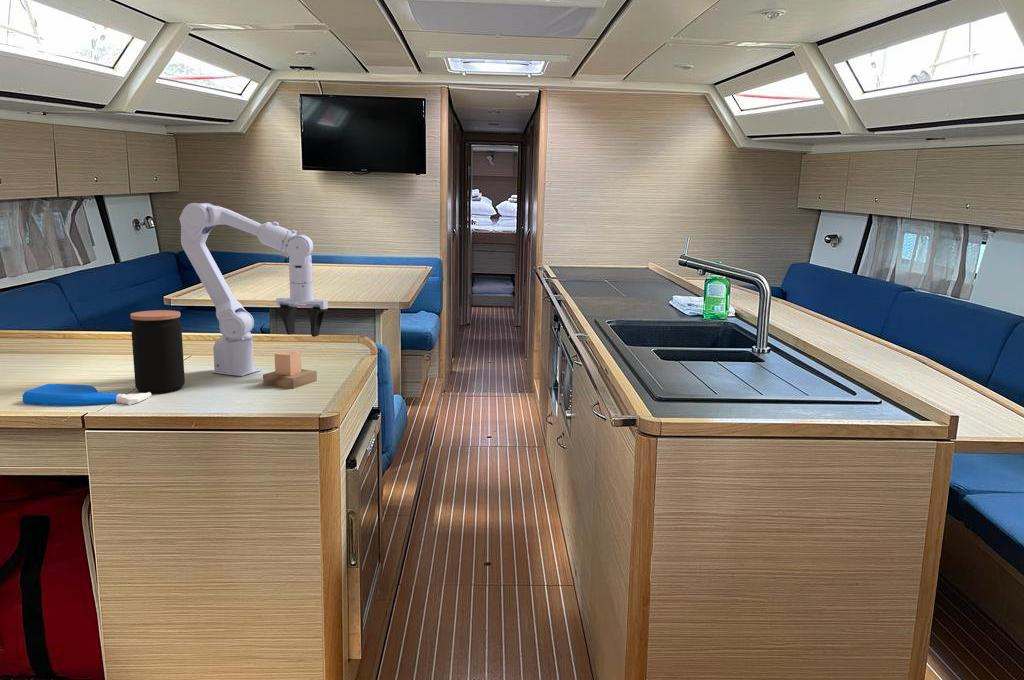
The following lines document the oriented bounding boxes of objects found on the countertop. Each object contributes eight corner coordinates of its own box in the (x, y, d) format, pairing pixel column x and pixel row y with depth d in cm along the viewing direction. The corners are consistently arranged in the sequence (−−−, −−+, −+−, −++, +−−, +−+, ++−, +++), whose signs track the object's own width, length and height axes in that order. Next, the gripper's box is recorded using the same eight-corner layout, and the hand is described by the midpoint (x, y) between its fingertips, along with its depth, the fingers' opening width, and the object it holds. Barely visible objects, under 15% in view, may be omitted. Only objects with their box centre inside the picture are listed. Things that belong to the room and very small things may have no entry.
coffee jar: (195, 386, 184) (190, 311, 181) (161, 396, 174) (156, 317, 171) (159, 382, 187) (154, 309, 184) (124, 392, 177) (119, 314, 174)
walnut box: (263, 386, 187) (262, 374, 186) (287, 379, 195) (287, 367, 194) (293, 390, 183) (293, 378, 183) (316, 382, 191) (316, 371, 191)
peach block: (275, 374, 187) (274, 353, 186) (286, 370, 191) (285, 350, 190) (290, 375, 186) (290, 355, 185) (301, 372, 190) (300, 352, 189)
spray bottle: (17, 393, 165) (128, 398, 164) (50, 382, 176) (155, 386, 174) (18, 406, 165) (129, 411, 164) (51, 394, 176) (155, 399, 175)
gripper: (267, 282, 195) (269, 335, 198) (315, 285, 190) (317, 339, 192) (285, 280, 202) (287, 331, 204) (332, 282, 197) (333, 335, 199)
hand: (302, 335), depth 199 cm, fingers open, 7 cm apart
